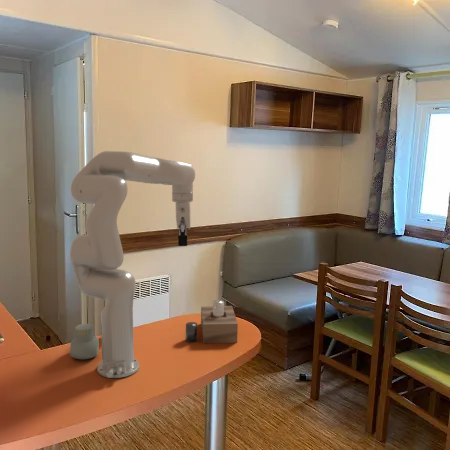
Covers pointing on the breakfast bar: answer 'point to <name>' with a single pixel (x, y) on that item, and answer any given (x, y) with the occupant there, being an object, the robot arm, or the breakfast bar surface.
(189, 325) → the short black pin
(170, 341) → the breakfast bar surface
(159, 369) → the breakfast bar surface
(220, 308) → the tall steel pin
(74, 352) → the air freshener
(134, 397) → the breakfast bar surface
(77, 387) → the breakfast bar surface
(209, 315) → the walnut block
